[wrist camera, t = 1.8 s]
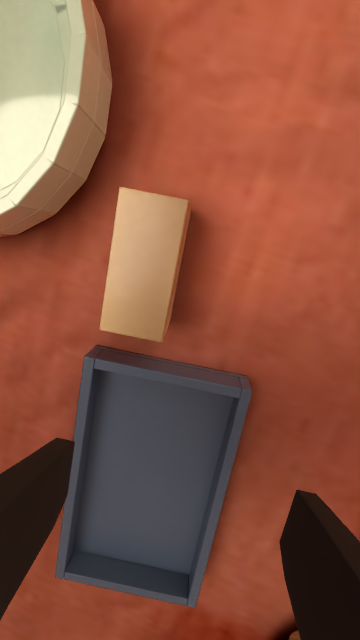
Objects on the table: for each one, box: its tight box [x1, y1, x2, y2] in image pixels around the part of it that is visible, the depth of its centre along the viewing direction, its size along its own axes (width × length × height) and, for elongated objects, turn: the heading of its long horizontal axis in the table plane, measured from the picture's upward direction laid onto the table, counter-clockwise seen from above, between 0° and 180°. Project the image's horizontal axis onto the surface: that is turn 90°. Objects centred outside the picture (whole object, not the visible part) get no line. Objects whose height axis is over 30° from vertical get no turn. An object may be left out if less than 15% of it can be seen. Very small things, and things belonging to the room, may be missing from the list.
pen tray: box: [55, 345, 252, 608], centre depth 21 cm, size 9×15×2 cm, turn 169°
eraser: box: [99, 187, 191, 342], centre depth 17 cm, size 3×6×4 cm, turn 169°
